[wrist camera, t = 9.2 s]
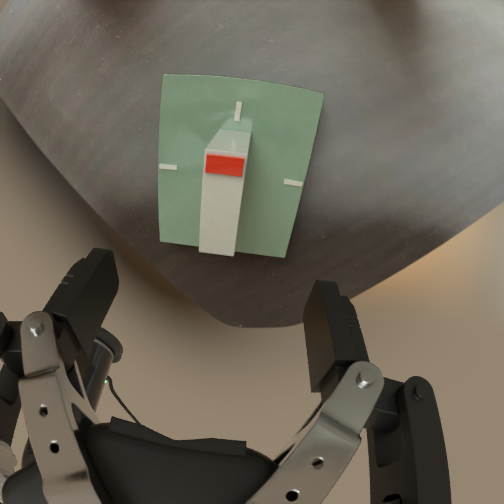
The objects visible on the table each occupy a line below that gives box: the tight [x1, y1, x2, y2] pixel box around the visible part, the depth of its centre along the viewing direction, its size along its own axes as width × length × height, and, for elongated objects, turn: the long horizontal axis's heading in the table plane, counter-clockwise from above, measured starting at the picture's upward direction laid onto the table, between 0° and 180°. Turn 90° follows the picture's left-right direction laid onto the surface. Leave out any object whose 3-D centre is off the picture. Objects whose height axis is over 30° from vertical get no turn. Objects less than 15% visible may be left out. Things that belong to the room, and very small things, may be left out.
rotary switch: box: [158, 74, 325, 258], centre depth 20 cm, size 14×11×3 cm
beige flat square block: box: [199, 129, 251, 256], centre depth 17 cm, size 6×2×6 cm, turn 172°
